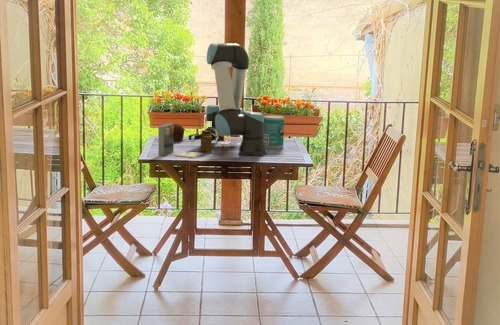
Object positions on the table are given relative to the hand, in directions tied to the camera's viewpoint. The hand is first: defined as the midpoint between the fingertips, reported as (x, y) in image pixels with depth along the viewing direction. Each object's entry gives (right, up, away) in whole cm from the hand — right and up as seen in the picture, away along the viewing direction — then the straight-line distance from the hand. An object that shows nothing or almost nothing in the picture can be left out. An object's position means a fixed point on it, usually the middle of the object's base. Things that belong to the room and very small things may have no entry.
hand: (204, 140), depth 397 cm
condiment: (0, -6, +5) cm, 8 cm away
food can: (+39, -3, +25) cm, 46 cm away
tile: (-8, -8, -5) cm, 12 cm away
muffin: (-20, +1, +37) cm, 42 cm away
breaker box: (-21, -7, -4) cm, 22 cm away
